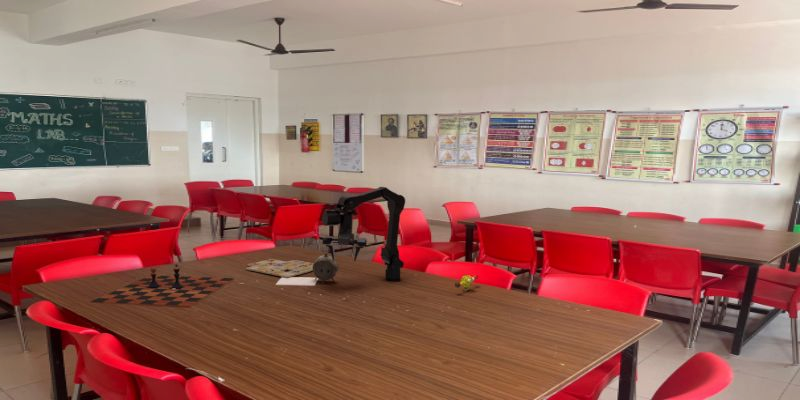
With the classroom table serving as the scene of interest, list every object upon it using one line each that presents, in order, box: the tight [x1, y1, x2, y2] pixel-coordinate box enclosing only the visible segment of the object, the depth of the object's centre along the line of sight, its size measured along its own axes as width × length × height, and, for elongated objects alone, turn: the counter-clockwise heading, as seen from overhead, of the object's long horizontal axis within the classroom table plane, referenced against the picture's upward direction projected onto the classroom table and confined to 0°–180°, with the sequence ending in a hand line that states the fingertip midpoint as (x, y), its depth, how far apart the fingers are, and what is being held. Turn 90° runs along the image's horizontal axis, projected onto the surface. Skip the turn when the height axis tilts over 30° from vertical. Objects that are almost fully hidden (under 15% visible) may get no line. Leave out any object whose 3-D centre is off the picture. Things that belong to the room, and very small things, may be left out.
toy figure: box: [454, 274, 479, 292], centre depth 220 cm, size 18×6×7 cm, turn 143°
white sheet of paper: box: [275, 276, 319, 287], centre depth 229 cm, size 17×12×1 cm
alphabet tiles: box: [245, 258, 314, 278], centre depth 253 cm, size 33×28×1 cm
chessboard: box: [90, 263, 235, 308], centre depth 212 cm, size 40×40×11 cm
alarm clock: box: [312, 246, 339, 284], centre depth 227 cm, size 11×5×16 cm, turn 84°
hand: (344, 260), depth 221 cm, fingers open, 9 cm apart
